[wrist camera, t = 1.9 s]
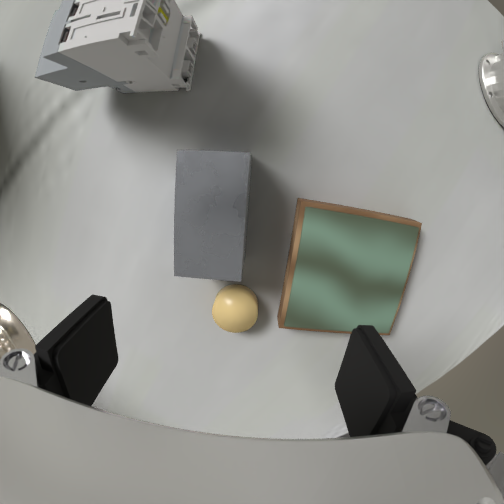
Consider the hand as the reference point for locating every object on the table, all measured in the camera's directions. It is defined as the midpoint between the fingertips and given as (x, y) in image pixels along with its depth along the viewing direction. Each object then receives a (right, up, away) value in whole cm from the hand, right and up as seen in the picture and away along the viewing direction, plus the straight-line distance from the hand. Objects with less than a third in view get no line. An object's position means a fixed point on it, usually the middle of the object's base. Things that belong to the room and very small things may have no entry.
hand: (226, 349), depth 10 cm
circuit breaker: (-12, +25, +16) cm, 32 cm away
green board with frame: (+12, +2, +22) cm, 25 cm away
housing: (-3, +8, +20) cm, 22 cm away
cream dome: (-1, -2, +23) cm, 24 cm away
